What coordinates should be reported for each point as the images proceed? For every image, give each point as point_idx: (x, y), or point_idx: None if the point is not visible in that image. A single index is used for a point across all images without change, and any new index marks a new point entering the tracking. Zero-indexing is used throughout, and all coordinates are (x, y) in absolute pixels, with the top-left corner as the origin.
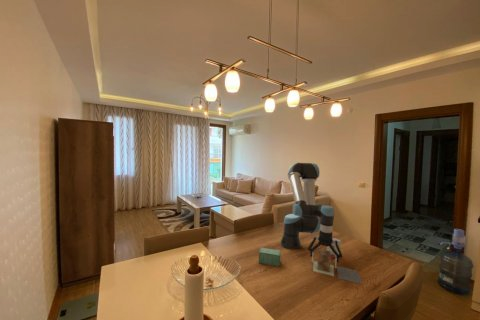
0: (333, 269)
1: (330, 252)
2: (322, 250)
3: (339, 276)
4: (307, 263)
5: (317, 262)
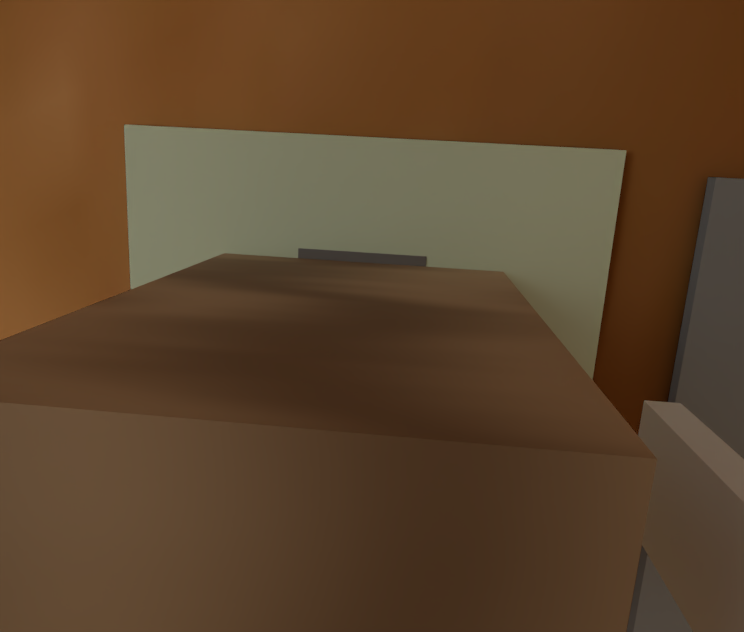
0: (587, 370)
1: (624, 629)
2: (116, 530)
3: (665, 626)
4: (5, 310)
5: (216, 175)
